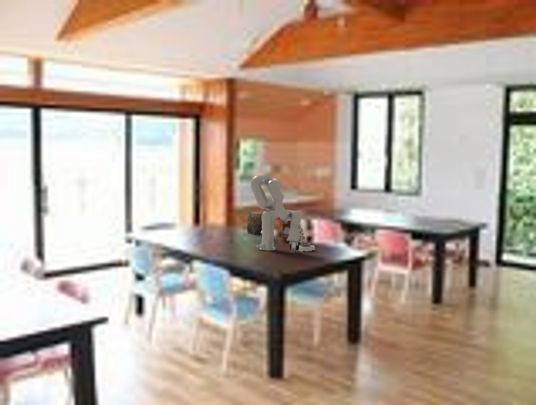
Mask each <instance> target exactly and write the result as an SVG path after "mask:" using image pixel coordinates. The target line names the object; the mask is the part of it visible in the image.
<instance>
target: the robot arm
mask: <svg viewBox="0 0 536 405" xmlns="http://www.w3.org/2000/svg"><path fill="white" fill-rule="evenodd" d="M262 186H266V187H267V189H268V191H269V193H270V195H271V196H267V195H266V193H265V190H264V189H263V187H262ZM282 186H283V185H282V182H281V181H280V180H279V179H277V178H275V177H272V176H270V175H266V174H259V175H255V176H254V177H253V178H252V179H251V181H250V188H251V191H252V193H253V196H254V199H255V200H256V203H257V205H258V208H259V209H261V210H264V211H263V212H261V213H262V231H261V243H260V244H256V248H259V250H261V251H275V250H276V247H275V246H274V244H275V243H274V241H275V239H274V238H275V223H274V222H275V221H276V220H278V219H280V220H281V221H283V220H287V219H291V227H290V230H289V236H288V238H287V241H288V242H289V243H288V244H289V250H291V243H292V241H296V243H297V245H296V250H299V245H300V244H301V243H302V242H304V240H302V236H303V235H302V233H303V232H302V231H301V229H300V228H302V225H301V222H300V220H301V216H302V215H301V214H302V212H301V211H300V210H291V209H285V207H284V204H283V202H284V197H285V195H284V193H283V192H282V190H281V188H282Z"/></svg>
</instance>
